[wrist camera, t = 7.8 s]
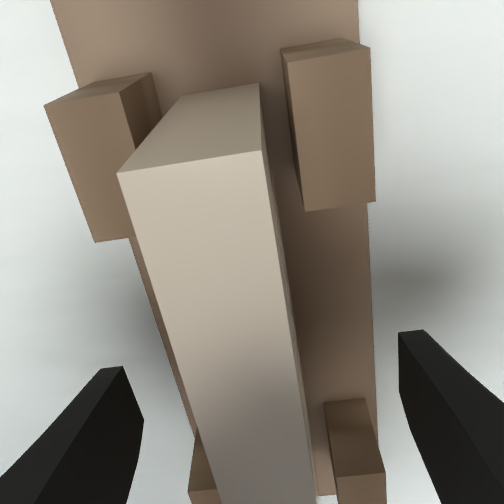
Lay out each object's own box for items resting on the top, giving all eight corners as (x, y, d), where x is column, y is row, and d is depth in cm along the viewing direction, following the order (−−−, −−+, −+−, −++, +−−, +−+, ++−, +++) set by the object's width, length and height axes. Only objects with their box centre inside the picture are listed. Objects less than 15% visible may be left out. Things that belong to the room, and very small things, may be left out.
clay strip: (263, 457, 18) (266, 643, 13) (180, 95, 11) (115, 172, 6) (313, 452, 18) (337, 639, 13) (258, 82, 11) (261, 150, 6)
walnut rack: (218, 483, 20) (210, 583, 17) (56, -28, 11) (-37, -45, 8) (374, 468, 20) (400, 568, 16) (345, -87, 10) (390, -134, 7)
